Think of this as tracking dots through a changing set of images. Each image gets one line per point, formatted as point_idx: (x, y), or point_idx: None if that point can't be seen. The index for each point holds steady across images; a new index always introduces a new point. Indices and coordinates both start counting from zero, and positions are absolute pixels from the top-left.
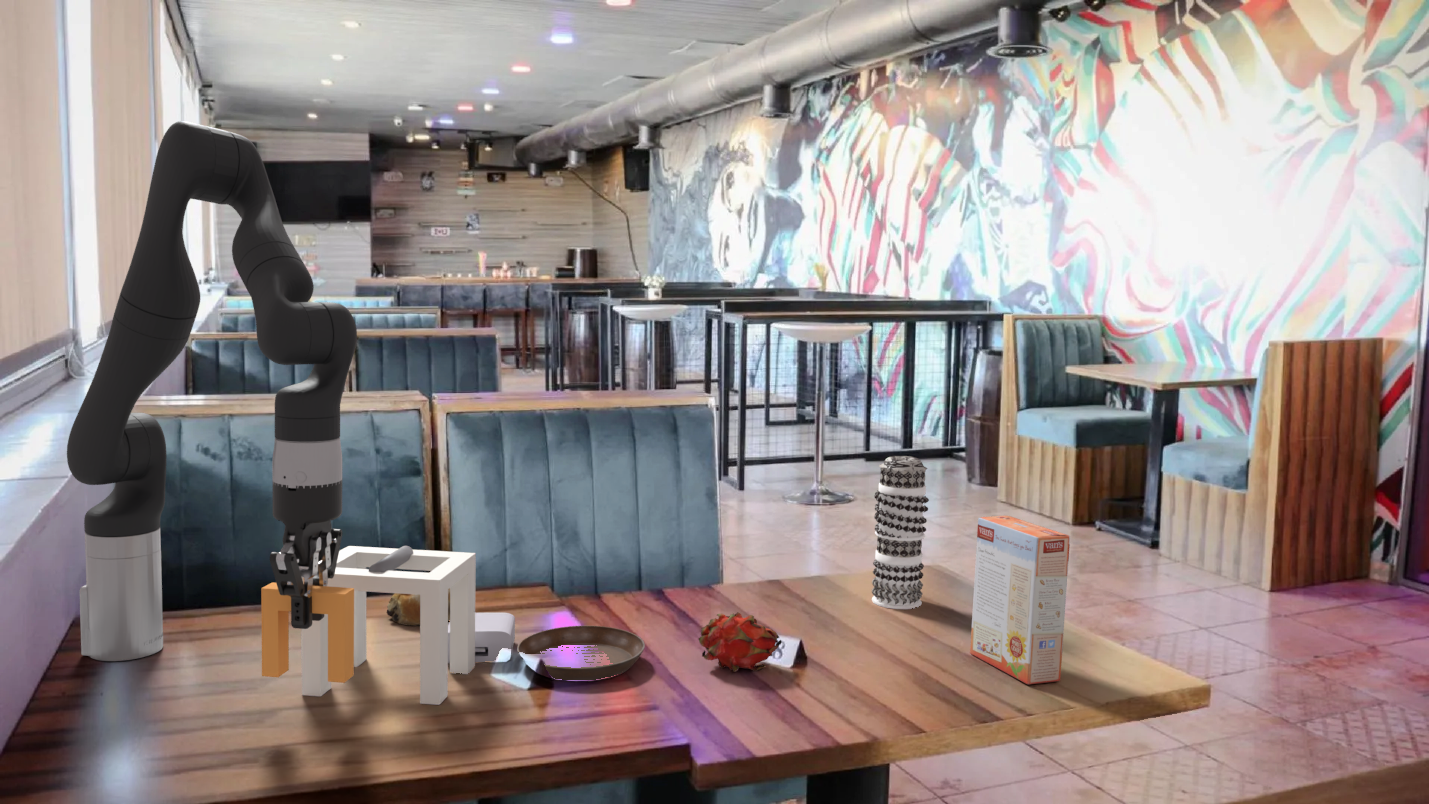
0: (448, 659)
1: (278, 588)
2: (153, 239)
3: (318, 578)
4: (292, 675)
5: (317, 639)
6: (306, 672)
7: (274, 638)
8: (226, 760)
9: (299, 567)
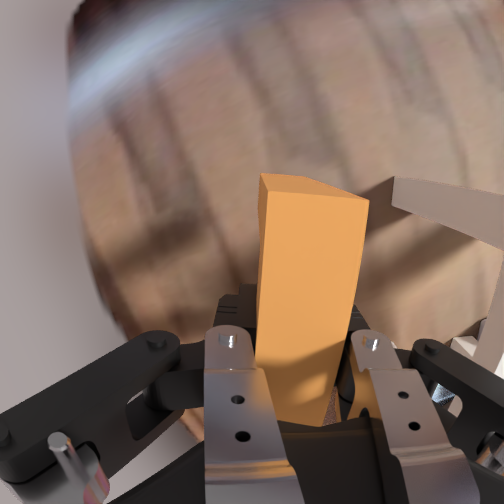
0: (482, 325)
1: (120, 347)
2: None
3: (354, 395)
4: (455, 138)
5: (438, 216)
6: (409, 186)
7: (259, 214)
8: (155, 169)
9: (367, 368)
